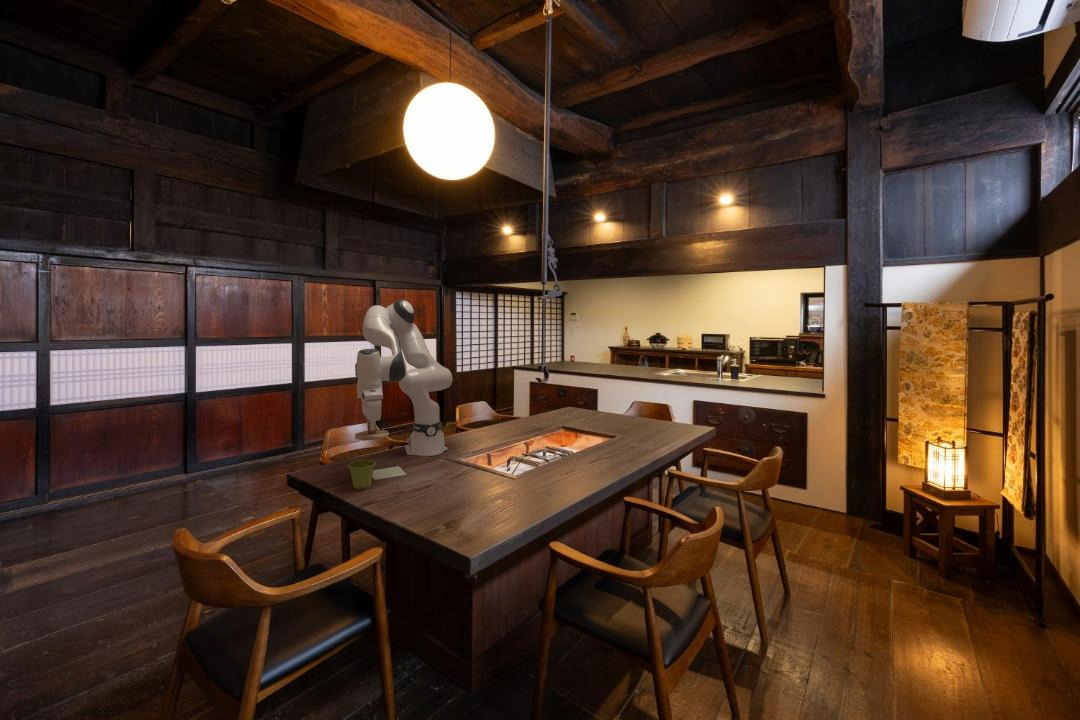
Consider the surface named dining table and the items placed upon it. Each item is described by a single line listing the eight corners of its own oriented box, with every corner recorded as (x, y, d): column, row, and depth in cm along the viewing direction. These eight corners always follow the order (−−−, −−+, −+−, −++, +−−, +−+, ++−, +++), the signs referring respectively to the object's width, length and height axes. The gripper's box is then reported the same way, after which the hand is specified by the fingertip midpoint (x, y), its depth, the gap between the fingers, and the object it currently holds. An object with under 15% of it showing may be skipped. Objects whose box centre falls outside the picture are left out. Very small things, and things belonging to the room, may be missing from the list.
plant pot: (372, 480, 176) (372, 458, 175) (379, 488, 168) (378, 464, 167) (346, 485, 171) (345, 462, 170) (351, 493, 163) (351, 469, 162)
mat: (368, 472, 185) (368, 470, 185) (399, 467, 192) (398, 466, 192) (374, 481, 175) (374, 479, 175) (406, 476, 181) (406, 474, 181)
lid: (353, 435, 177) (352, 421, 177) (385, 431, 183) (385, 418, 183) (357, 441, 167) (356, 427, 167) (391, 437, 173) (391, 423, 172)
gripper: (357, 390, 182) (358, 425, 182) (365, 396, 164) (366, 435, 164) (374, 389, 185) (375, 423, 185) (383, 394, 167) (385, 432, 168)
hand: (371, 429), depth 175 cm, fingers closed on lid, 3 cm apart
